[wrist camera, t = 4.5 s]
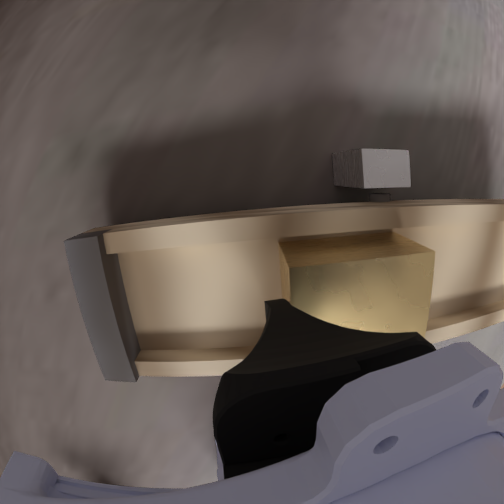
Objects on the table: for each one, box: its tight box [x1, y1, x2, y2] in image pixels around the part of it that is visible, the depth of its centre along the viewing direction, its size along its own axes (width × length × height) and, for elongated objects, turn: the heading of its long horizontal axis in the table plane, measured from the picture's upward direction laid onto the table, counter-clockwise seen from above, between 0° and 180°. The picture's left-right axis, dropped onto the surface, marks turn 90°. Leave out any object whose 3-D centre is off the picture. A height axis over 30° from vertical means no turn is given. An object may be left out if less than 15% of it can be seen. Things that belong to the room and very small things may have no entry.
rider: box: [278, 232, 435, 338], centre depth 13 cm, size 6×5×4 cm
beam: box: [64, 193, 504, 382], centre depth 15 cm, size 31×9×4 cm, turn 95°
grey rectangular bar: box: [332, 149, 411, 188], centre depth 17 cm, size 3×14×4 cm, turn 5°
